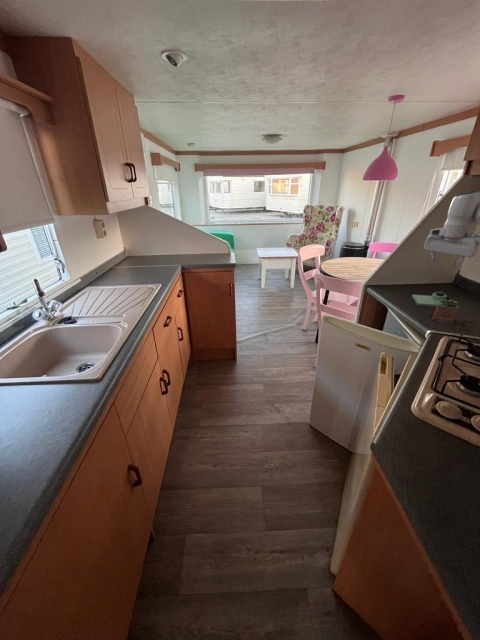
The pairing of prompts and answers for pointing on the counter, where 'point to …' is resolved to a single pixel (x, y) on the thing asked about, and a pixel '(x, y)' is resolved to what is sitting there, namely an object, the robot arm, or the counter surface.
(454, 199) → the robot arm
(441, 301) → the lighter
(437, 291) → the tare button
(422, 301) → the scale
